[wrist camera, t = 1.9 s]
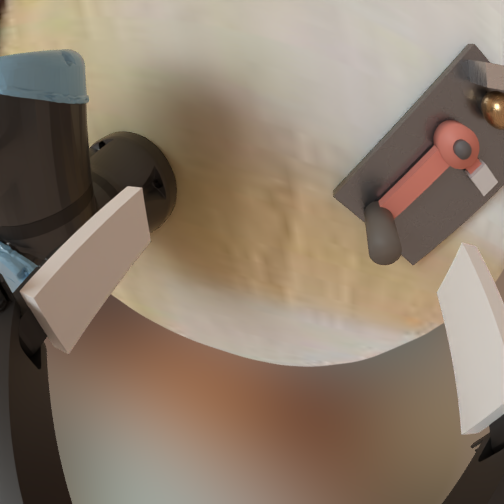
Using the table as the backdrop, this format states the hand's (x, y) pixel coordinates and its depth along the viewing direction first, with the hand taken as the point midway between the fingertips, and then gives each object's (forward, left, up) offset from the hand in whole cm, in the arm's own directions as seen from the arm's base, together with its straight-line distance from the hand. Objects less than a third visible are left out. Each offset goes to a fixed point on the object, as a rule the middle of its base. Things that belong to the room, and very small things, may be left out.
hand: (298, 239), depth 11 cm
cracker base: (+6, -13, -23) cm, 27 cm away
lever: (+3, -13, -21) cm, 25 cm away
